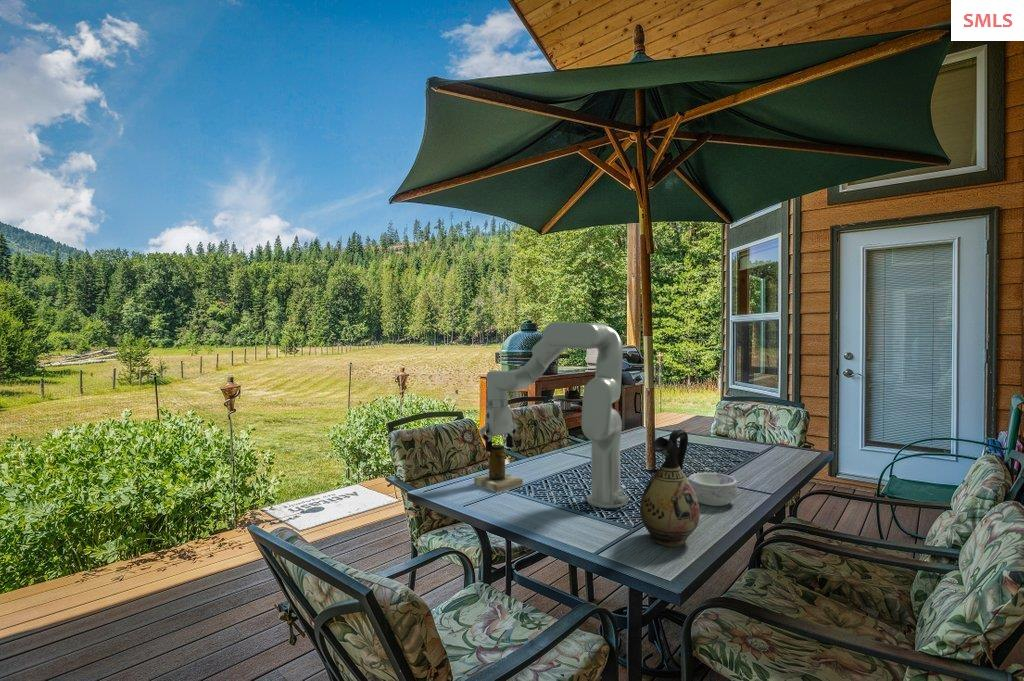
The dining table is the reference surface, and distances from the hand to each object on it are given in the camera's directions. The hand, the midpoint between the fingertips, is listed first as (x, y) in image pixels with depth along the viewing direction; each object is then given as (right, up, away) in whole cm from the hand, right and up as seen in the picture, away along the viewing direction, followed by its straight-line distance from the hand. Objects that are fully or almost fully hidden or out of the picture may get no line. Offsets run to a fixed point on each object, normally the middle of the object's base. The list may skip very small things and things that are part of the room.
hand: (499, 449), depth 186 cm
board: (-1, -13, +1) cm, 13 cm away
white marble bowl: (+71, -13, -20) cm, 75 cm away
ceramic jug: (+48, -14, -50) cm, 71 cm away
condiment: (0, -11, 0) cm, 11 cm away
